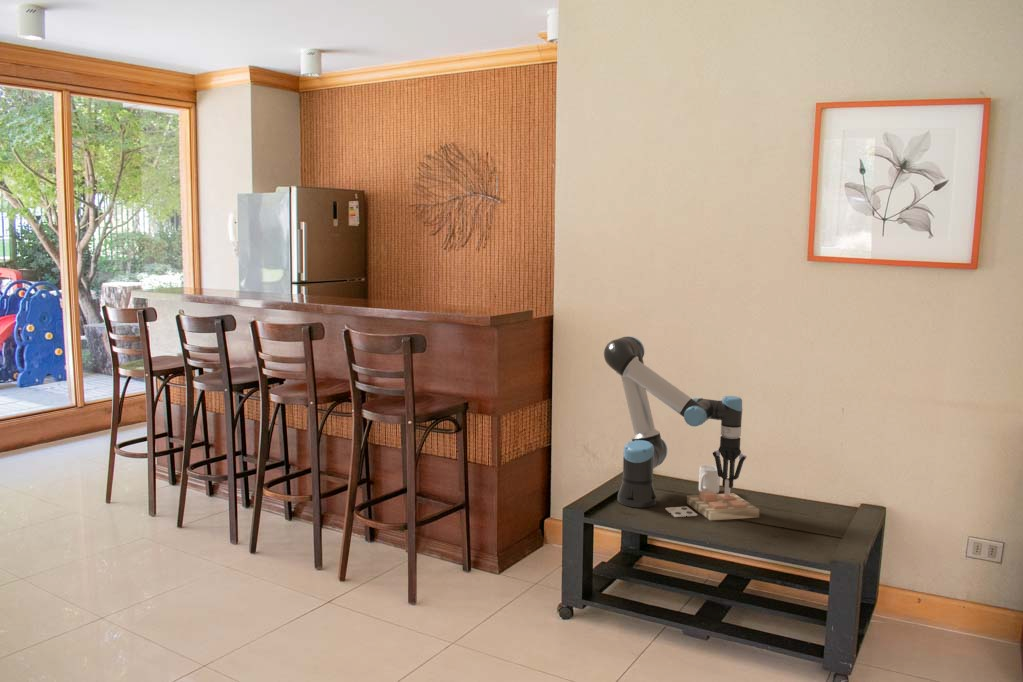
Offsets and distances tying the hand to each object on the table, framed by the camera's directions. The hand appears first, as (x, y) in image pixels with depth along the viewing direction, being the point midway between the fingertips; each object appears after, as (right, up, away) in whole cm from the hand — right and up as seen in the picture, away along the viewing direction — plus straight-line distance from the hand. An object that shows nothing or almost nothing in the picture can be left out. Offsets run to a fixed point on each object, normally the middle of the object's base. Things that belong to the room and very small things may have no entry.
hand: (727, 495), depth 321 cm
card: (-20, -5, -8) cm, 22 cm away
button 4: (+2, -5, -7) cm, 9 cm away
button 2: (-6, -5, -9) cm, 12 cm away
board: (-3, -5, -4) cm, 7 cm away
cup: (-4, -2, +17) cm, 18 cm away
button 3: (0, -4, 0) cm, 4 cm away
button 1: (-8, -2, -2) cm, 8 cm away
